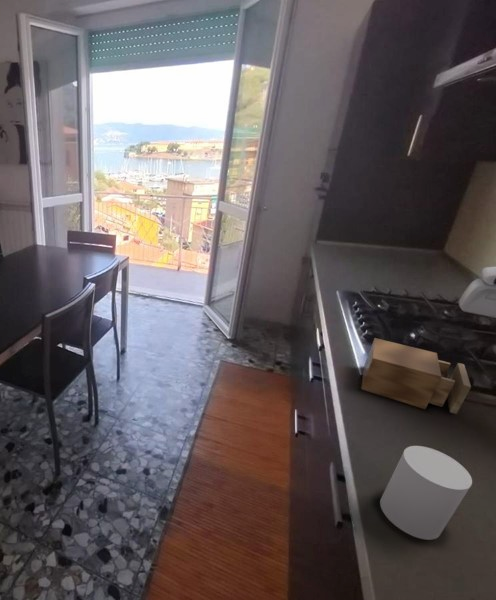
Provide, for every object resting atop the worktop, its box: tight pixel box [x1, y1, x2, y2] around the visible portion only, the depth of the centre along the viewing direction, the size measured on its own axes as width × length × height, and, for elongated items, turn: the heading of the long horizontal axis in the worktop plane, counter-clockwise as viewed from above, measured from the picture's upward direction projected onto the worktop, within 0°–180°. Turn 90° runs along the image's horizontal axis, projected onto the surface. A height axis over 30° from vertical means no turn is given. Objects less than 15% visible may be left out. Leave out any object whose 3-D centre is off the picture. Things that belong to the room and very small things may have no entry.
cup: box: [379, 445, 473, 541], centre depth 59 cm, size 8×8×12 cm
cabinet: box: [360, 337, 441, 410], centre depth 90 cm, size 13×12×10 cm
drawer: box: [428, 359, 472, 415], centre depth 86 cm, size 13×10×8 cm
